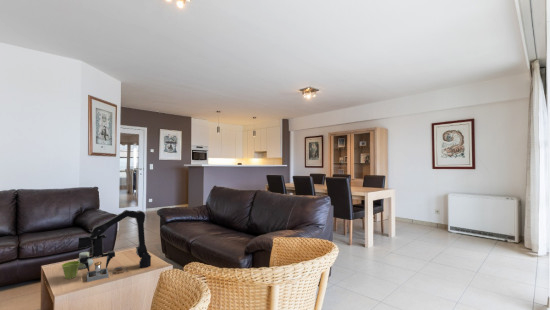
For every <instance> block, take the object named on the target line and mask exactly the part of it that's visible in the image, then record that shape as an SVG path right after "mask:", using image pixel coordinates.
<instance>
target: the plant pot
mask: <svg viewBox="0 0 550 310" xmlns="http://www.w3.org/2000/svg"><path fill="white" fill-rule="evenodd" d="M79 263H80V261H77V260H71V261H68V262H65V263H63V264H61V267H62V269H63V275H64V276H63V277H64V279H66V280H70V279H71V280H72V279H74V278H76V277H77V276H78V271H79V268H78V266H79Z"/></svg>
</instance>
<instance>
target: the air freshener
mask: <svg viewBox="0 0 550 310" xmlns="http://www.w3.org/2000/svg"><path fill="white" fill-rule="evenodd" d="M85 255H87V257H89V256H90V251H83V252H79V254H78V259H77V260H76V261H80V257H81V256H85ZM88 264H89V267H91V266H92V265H94V260H93V259H89V260H88ZM79 269H80V270H83V269H84V270H85V269H87V267H86V266H85V264H82V263H79V266H78V270H79Z"/></svg>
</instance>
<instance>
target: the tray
mask: <svg viewBox="0 0 550 310" xmlns="http://www.w3.org/2000/svg"><path fill="white" fill-rule="evenodd" d="M108 270H109V269H108V267H107V268H106V267H105V268H101V275H98V276H95V270H91V271H89V272H88V271H87V272H86V283H90V282H93V281H94V282H95V281H98V280H103V279H107V278H109V275H110V274H109V273H110V272H109V271H108ZM104 273H105V274H104Z"/></svg>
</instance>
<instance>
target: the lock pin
mask: <svg viewBox="0 0 550 310" xmlns="http://www.w3.org/2000/svg"><path fill="white" fill-rule="evenodd" d="M93 265H94V271H95V275H94V276H98V275H102V273H101V269H102V267H101V266H102V261H96V262H93Z"/></svg>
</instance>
